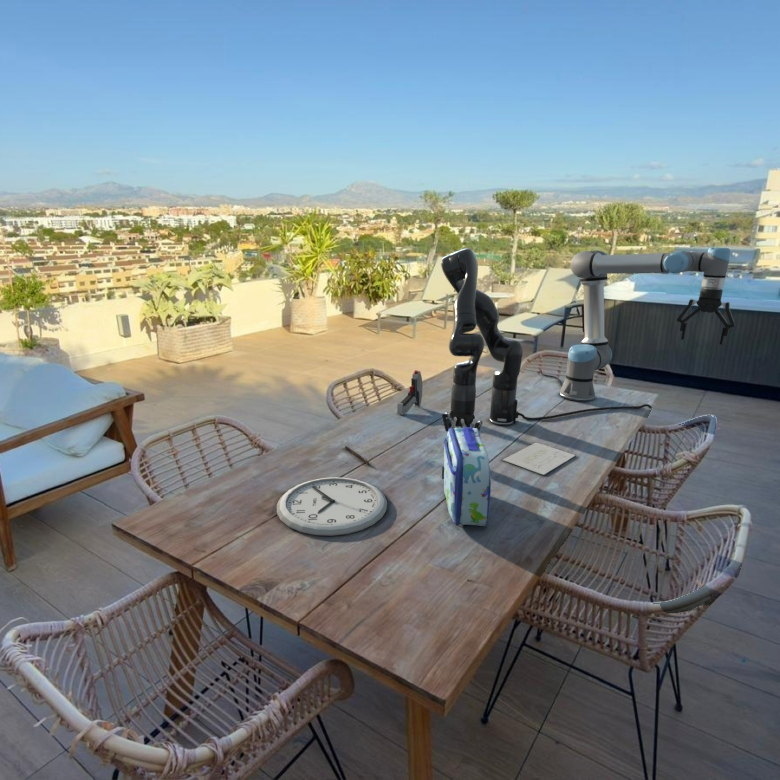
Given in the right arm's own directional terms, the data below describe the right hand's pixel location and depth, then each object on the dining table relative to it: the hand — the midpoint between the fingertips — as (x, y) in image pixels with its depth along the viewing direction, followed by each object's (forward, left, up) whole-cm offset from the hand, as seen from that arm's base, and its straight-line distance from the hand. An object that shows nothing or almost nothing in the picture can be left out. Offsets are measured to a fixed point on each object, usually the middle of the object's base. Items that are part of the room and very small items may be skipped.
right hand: (701, 341), depth 211 cm
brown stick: (+72, -126, -31) cm, 148 cm away
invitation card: (+60, -66, -31) cm, 94 cm away
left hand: (+68, -92, -25) cm, 118 cm away
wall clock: (+104, -125, -31) cm, 165 cm away
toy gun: (+22, -115, -31) cm, 121 cm away
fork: (-8, -96, -31) cm, 101 cm away
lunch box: (+98, -90, -31) cm, 136 cm away
